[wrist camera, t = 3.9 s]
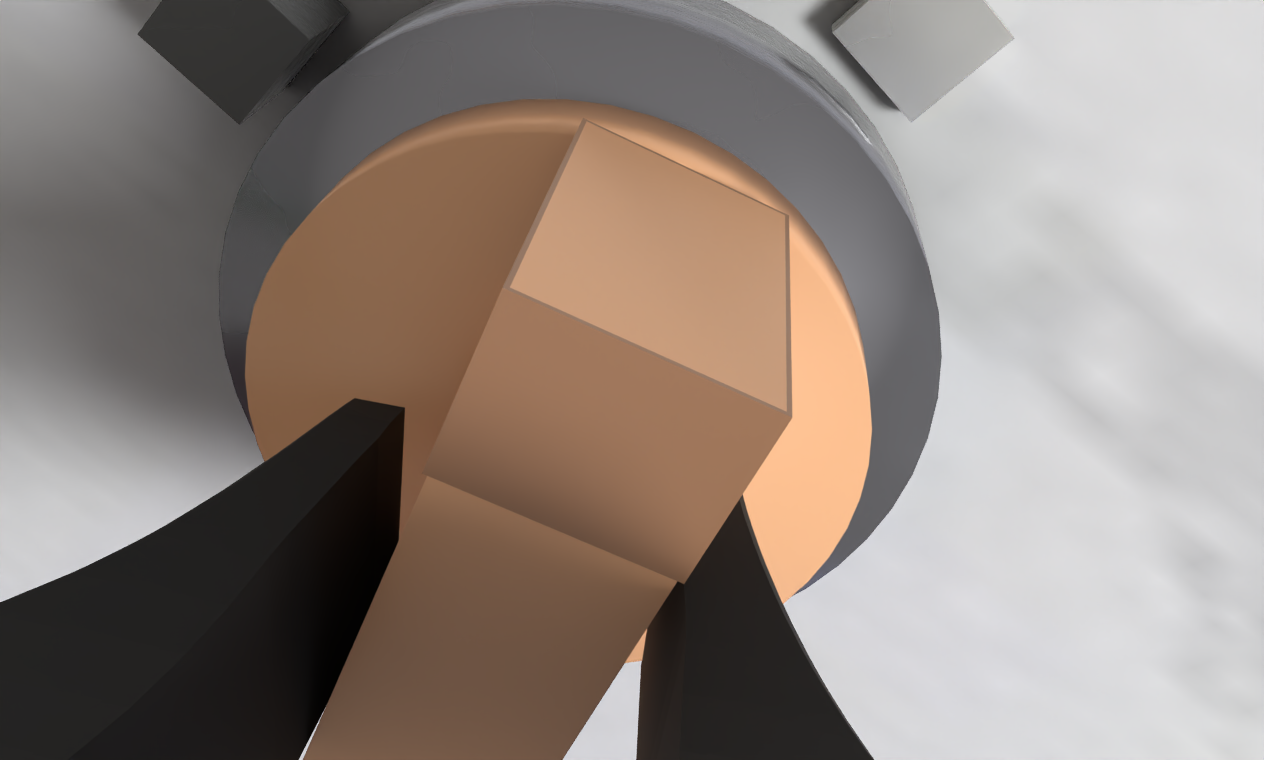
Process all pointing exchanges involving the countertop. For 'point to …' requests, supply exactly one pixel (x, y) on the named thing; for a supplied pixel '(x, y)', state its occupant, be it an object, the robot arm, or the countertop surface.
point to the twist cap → (557, 404)
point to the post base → (631, 79)
